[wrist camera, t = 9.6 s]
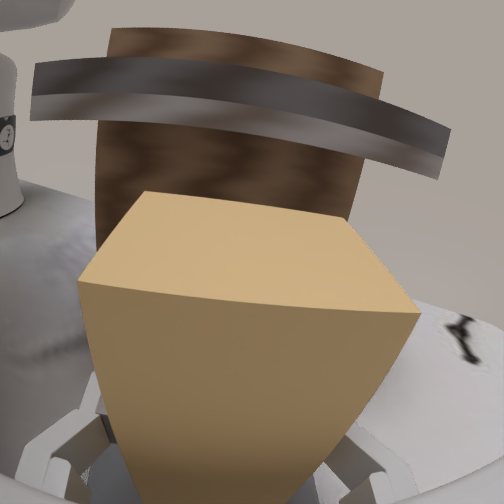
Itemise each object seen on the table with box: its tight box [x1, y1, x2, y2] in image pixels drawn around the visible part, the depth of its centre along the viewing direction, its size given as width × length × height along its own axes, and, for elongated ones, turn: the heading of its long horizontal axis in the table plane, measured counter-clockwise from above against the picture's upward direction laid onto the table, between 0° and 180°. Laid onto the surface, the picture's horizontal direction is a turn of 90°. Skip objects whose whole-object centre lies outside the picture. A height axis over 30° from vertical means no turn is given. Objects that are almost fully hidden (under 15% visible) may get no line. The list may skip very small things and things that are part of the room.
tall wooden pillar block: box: [77, 191, 421, 504], centre depth 9 cm, size 5×4×13 cm
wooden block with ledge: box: [30, 28, 451, 252], centre depth 21 cm, size 20×15×22 cm
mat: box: [87, 443, 319, 504], centre depth 12 cm, size 12×12×1 cm
